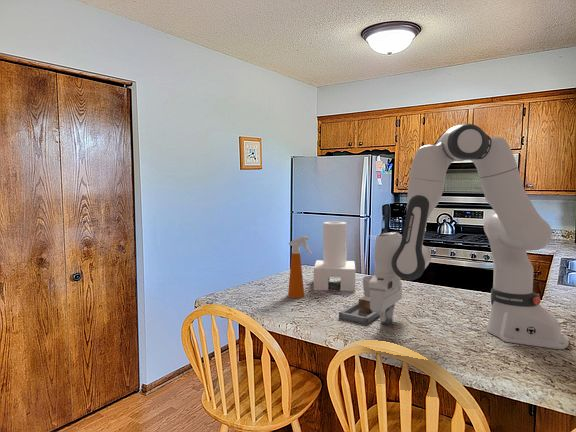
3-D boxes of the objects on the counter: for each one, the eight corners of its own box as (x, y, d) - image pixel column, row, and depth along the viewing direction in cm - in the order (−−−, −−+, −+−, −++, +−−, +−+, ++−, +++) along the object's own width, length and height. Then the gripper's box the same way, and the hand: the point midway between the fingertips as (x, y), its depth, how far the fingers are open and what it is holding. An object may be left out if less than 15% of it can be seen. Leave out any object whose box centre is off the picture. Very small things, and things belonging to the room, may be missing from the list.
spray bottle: (310, 299, 165) (310, 237, 163) (285, 297, 168) (285, 236, 166) (314, 295, 172) (314, 235, 169) (291, 293, 175) (290, 234, 173)
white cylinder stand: (316, 279, 199) (316, 220, 197) (354, 280, 196) (354, 221, 194) (313, 289, 181) (313, 224, 178) (355, 291, 178) (355, 225, 175)
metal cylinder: (394, 323, 137) (394, 306, 137) (390, 326, 134) (390, 309, 134) (383, 320, 140) (383, 304, 139) (378, 324, 136) (379, 307, 136)
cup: (383, 305, 156) (383, 281, 156) (362, 304, 158) (362, 280, 157) (382, 299, 164) (382, 276, 163) (362, 298, 166) (363, 275, 165)
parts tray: (385, 312, 149) (385, 306, 148) (367, 324, 136) (367, 318, 136) (358, 307, 155) (358, 301, 155) (338, 318, 142) (338, 312, 142)
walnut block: (374, 311, 149) (375, 298, 148) (369, 314, 145) (370, 301, 145) (363, 308, 151) (363, 296, 151) (358, 312, 148) (358, 299, 147)
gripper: (389, 272, 146) (389, 308, 147) (366, 283, 129) (365, 324, 130) (406, 274, 142) (406, 311, 143) (384, 286, 126) (384, 328, 127)
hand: (386, 318), depth 137 cm, fingers open, 5 cm apart
